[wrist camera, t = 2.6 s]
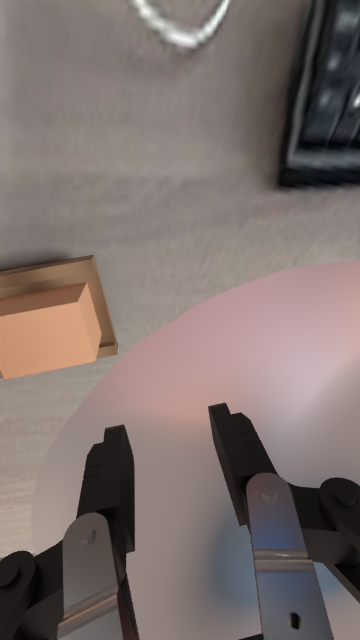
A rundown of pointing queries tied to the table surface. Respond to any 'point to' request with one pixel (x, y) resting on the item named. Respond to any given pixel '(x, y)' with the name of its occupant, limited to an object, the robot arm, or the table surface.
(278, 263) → the table surface
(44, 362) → the block
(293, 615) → the robot arm
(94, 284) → the beam
